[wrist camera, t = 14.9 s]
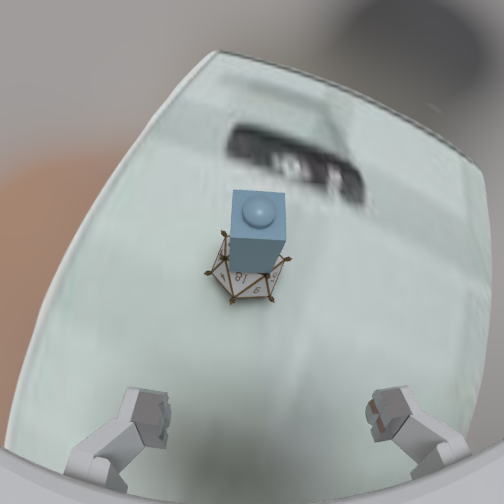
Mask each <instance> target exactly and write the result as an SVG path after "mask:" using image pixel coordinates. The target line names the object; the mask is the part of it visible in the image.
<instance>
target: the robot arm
mask: <svg viewBox="0 0 504 504" xmlns="http://www.w3.org/2000/svg"><path fill="white" fill-rule="evenodd" d="M372 397H373V399H372V400H371V401H369V402H368V404H367V406H366V411H365V414H366V419H367V422H368V423H369V424H370V425H372V428H371V433H372V436H373V439H374V442H381V441H386V440H391V439H392V441H393V442H394V443H395V444H396V445H398V446H399V447H400V448H401V449H402V450H403V451H404V452H405V453H406V454H407V455H409V456H410V457H411V458H412V459H413V460H414V461H415V462H416V463H418V465H417V466H416V467H415V468H414V469H413V470H412V471H411V473H410V474H411V477H412V480H410V481H407V482H404V483H401V484H398V485H394V486H391V487H388V488H384V489H380V490H376V491H372V492H368V493H364V494H360V495H355V496H350V497H345V498H340V499H334V500H328V501H321V502H314V503H306V504H504V438H503V439H502V440H500V441H498V442H497V443H495V444H493V445H491V446H489V447H488V448H486V449H484V450H482V451H480V452H478V453H476V454H474V455H472V454H471V452H470V450H469V448H468V446H467V444H466V442H465V440H464V438H463V436H462V435H461V434H460V433H458V432H457V431H455V430H453V429H452V428H450V427H449V426H447V425H446V424H444V423H442V422H441V421H439V420H438V419H436V418H435V417H433V416H432V415H430V414H428V413H427V412H422V410H421V408H420V406H419V404H418V402H417V400H416V398H415V396H414V394H413V393H412V391H411V389H410V387H409V386H408V385H404V386H398V387H391V388H385V389H378V390H376V391H374V393H373V394H372ZM167 402H168V394H167V392H160V391H153V390H147V389H141V388H135V387H128V388H127V390H126V392H125V395H124V398H123V401H122V404H121V407H120V410H119V413H118V416H117V419H114V418H113V419H112V420H110V421H109V422H108V423H106V424H105V425H104V426H102V427H101V428H100V429H98V430H97V431H95V432H94V433H93V434H91V435H90V436H89V437H87V438H86V439H85V440H83V441H82V442H80V443H79V444H78V445H76V446H75V447H73V448H72V451H71V454H70V457H69V459H68V462H67V465H66V468H65V471H64V474H60V473H58V472H55V471H53V470H50V469H48V468H45V467H43V466H40V465H38V464H36V463H34V462H31V461H29V460H27V459H25V458H23V457H21V456H19V455H17V454H15V453H13V452H11V451H9V450H7V449H5V448H4V447H2V446H0V504H184V503H176V502H169V501H162V500H156V499H150V498H145V497H140V496H135V495H130V494H127V488H128V486H127V484H126V483H125V482H124V480H123V479H122V478H121V476H120V475H119V473H120V472H121V471H122V470H123V469H124V468H125V467H126V466H127V465H128V464H129V463H130V462H131V461H132V460H133V459H134V458H135V457H136V456H137V455H138V454H139V453H140V452H141V451H142V450H143V449H144V448H145V447H144V446H146V447H153V448H161V449H166V444H167V438H168V433H167V430H166V429H167V428H168V427H169V426H170V421H171V408H170V404H169V403H167Z"/></svg>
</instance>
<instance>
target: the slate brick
mask: <svg viewBox="0 0 504 504" xmlns="http://www.w3.org/2000/svg"><path fill="white" fill-rule="evenodd" d="M285 242H286V210H285V193H277V192H263V191H249V190H233V199H232V214H231V230H230V252H229V271H232V272H251V273H271V271H272V269H273V267H274V265H275V263H276V261H277V259H278V257H279V255H280V253H281V251H282V248H283V246H284V244H285Z"/></svg>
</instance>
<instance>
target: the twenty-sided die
mask: <svg viewBox="0 0 504 504" xmlns="http://www.w3.org/2000/svg"><path fill="white" fill-rule="evenodd" d="M221 234H222V236H224V237H225V238H224V241H223V243H222V246H221V248H220V251H219V253H218V256H217V258H216V261H215V263H214V266H213V268H212V271H206V272H205V273H204V274H205V275H207V276H208V275H210V274H212V275H213V276H214V277H215V278H216V279H217V280H218V282H219V283H220V284H221V285H222V286H223V287H224V288H225V289H226V291H227V292H228V293H229V294H230V295H231V296H232V298H230V299H231V300H229V301H230V305H231V304H233V303H235V302H234V301H235V298H258V297H269V300H270V302H274V298H273V297H272V296H271V293H272V291H273V288H274V286H275V283H276V281H277V279H278V276H279V274H280V271H281V269H282V266H283V264H284V261H290V260H291V259H292V258H290V257H289V256H288V257H286V258H283V257H282V256H281V255H279V257H278V259H277V261H276V263H275V265H274V267H273V269H272V271H271V273H251V272H232V271H229V252H230V236H227V234H226V231H222V230H221Z"/></svg>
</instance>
